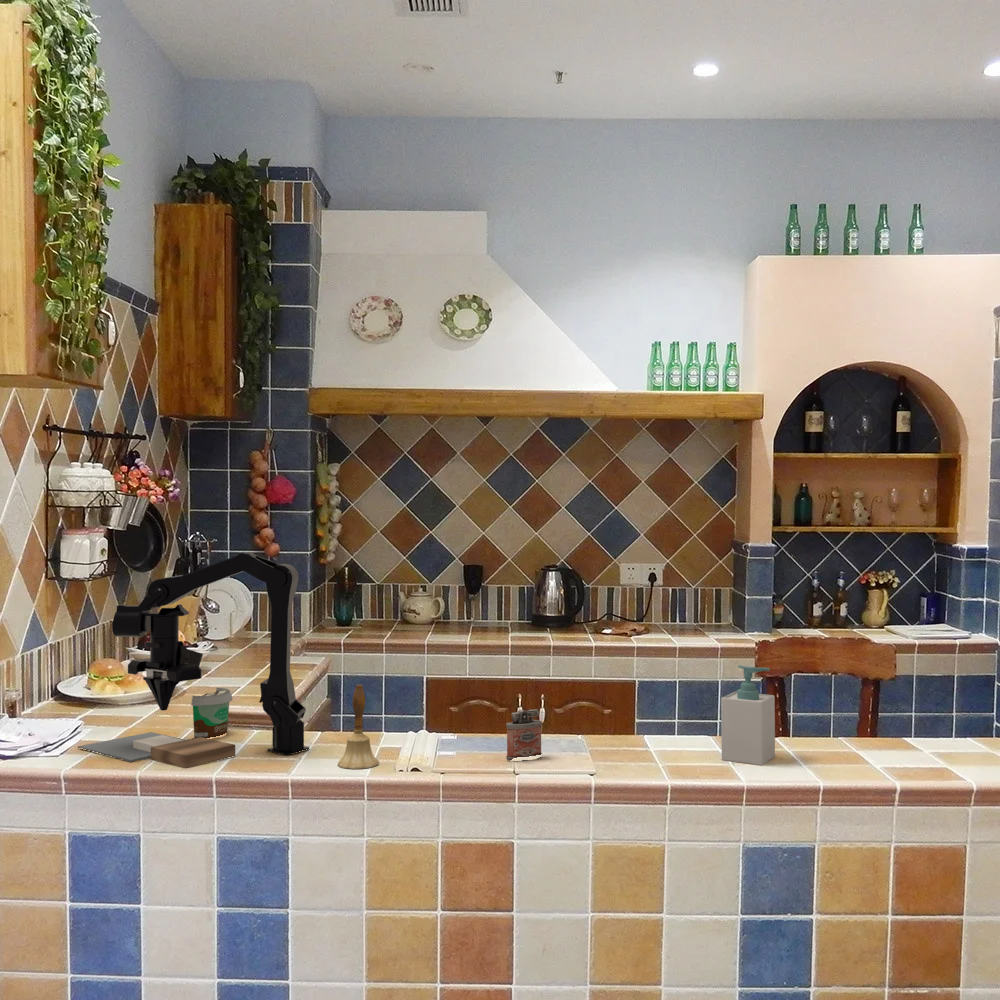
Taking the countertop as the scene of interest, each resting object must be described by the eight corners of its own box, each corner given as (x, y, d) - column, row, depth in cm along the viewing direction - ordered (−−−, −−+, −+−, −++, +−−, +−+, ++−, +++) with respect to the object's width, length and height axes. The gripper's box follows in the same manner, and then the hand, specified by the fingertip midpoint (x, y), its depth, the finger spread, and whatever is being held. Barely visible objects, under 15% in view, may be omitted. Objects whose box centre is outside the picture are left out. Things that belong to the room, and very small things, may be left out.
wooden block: (235, 756, 207) (235, 744, 207) (185, 768, 197) (186, 755, 197) (199, 748, 214) (200, 736, 214) (150, 759, 204) (150, 747, 205)
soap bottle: (763, 766, 199) (763, 670, 199) (721, 760, 204) (720, 667, 204) (776, 757, 206) (775, 665, 207) (734, 752, 211) (734, 662, 211)
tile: (189, 748, 212) (189, 741, 212) (160, 754, 206) (160, 747, 206) (161, 742, 218) (162, 735, 218) (133, 747, 213) (133, 740, 213)
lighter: (510, 762, 202) (510, 713, 202) (503, 759, 205) (503, 710, 205) (545, 758, 205) (545, 709, 206) (537, 754, 208) (537, 707, 209)
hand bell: (339, 759, 204) (339, 682, 205) (380, 759, 205) (380, 681, 205) (335, 770, 196) (335, 688, 196) (378, 769, 197) (378, 688, 197)
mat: (204, 746, 216) (204, 743, 216) (130, 762, 202) (130, 759, 202) (151, 734, 228) (151, 732, 228) (77, 748, 214) (77, 746, 214)
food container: (216, 742, 220) (216, 697, 220) (190, 741, 221) (191, 696, 221) (241, 731, 232) (241, 688, 232) (217, 729, 233) (217, 687, 233)
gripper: (223, 636, 213) (222, 709, 213) (171, 630, 224) (170, 699, 224) (178, 641, 204) (177, 717, 204) (126, 635, 215) (125, 707, 215)
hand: (163, 710), depth 212 cm, fingers closed
